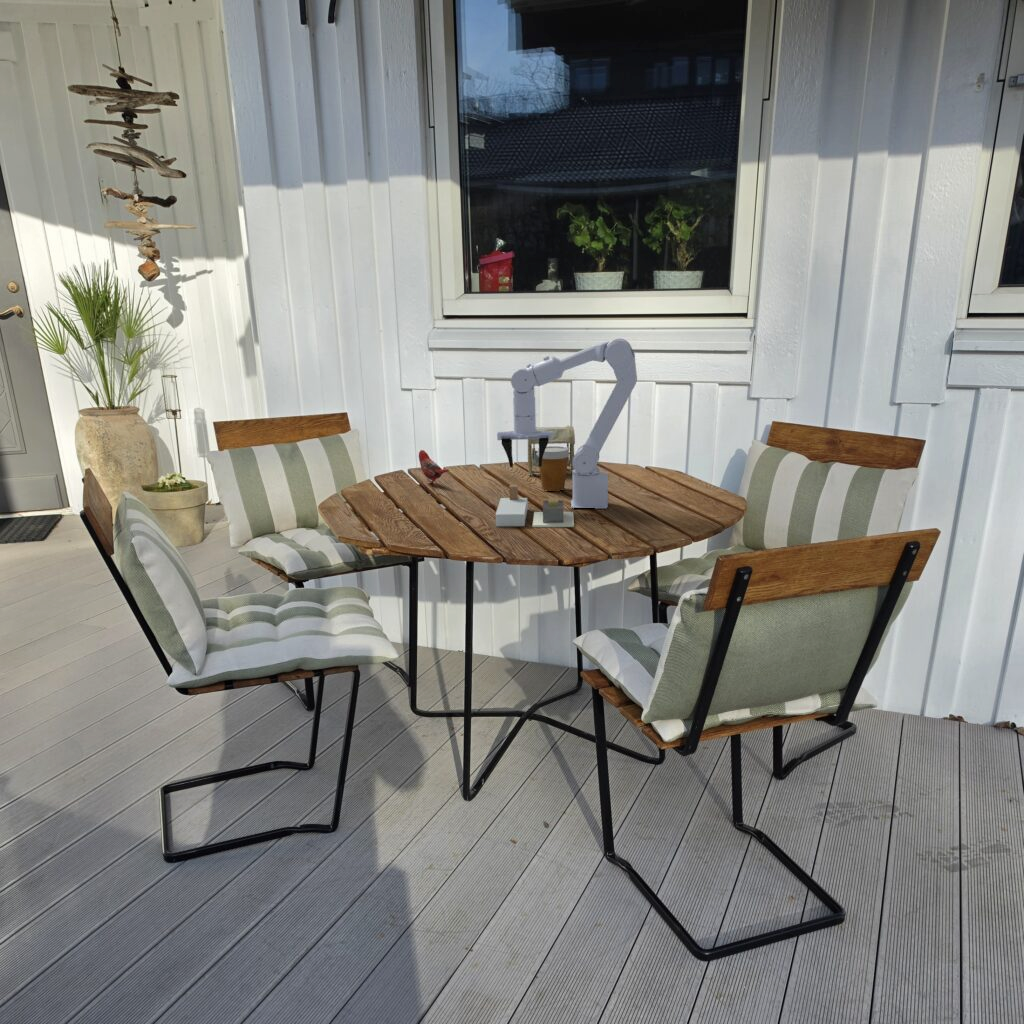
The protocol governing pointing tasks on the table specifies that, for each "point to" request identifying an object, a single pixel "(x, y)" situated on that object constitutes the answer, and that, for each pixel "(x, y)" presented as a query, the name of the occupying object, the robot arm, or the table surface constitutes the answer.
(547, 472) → the disposable coffee cup
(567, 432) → the swing bench
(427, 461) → the decorative bird figurine
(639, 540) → the table surface
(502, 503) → the white rectangular block
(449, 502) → the table surface
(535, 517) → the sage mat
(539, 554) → the table surface
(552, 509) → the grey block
